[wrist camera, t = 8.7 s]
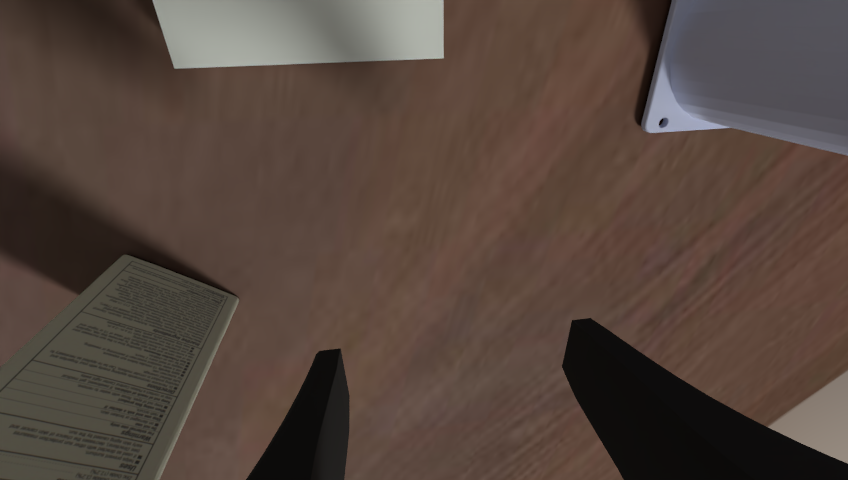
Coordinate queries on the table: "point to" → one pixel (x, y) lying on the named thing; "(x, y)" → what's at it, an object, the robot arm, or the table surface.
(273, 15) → the socket block
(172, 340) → the skincare box
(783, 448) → the robot arm
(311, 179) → the table surface
